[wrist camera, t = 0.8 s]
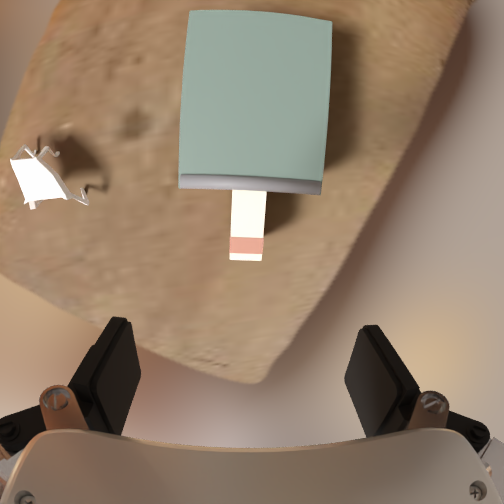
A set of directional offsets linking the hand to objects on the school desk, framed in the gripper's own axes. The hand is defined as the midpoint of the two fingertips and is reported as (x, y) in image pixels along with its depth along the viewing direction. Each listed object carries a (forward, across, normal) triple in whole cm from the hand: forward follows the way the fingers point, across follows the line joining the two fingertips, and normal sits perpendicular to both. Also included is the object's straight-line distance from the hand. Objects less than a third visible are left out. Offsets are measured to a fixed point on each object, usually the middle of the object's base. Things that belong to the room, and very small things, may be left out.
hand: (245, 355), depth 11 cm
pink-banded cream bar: (+22, -1, -4) cm, 22 cm away
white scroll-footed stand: (+23, +23, -5) cm, 33 cm away
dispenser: (+22, 0, -13) cm, 26 cm away
